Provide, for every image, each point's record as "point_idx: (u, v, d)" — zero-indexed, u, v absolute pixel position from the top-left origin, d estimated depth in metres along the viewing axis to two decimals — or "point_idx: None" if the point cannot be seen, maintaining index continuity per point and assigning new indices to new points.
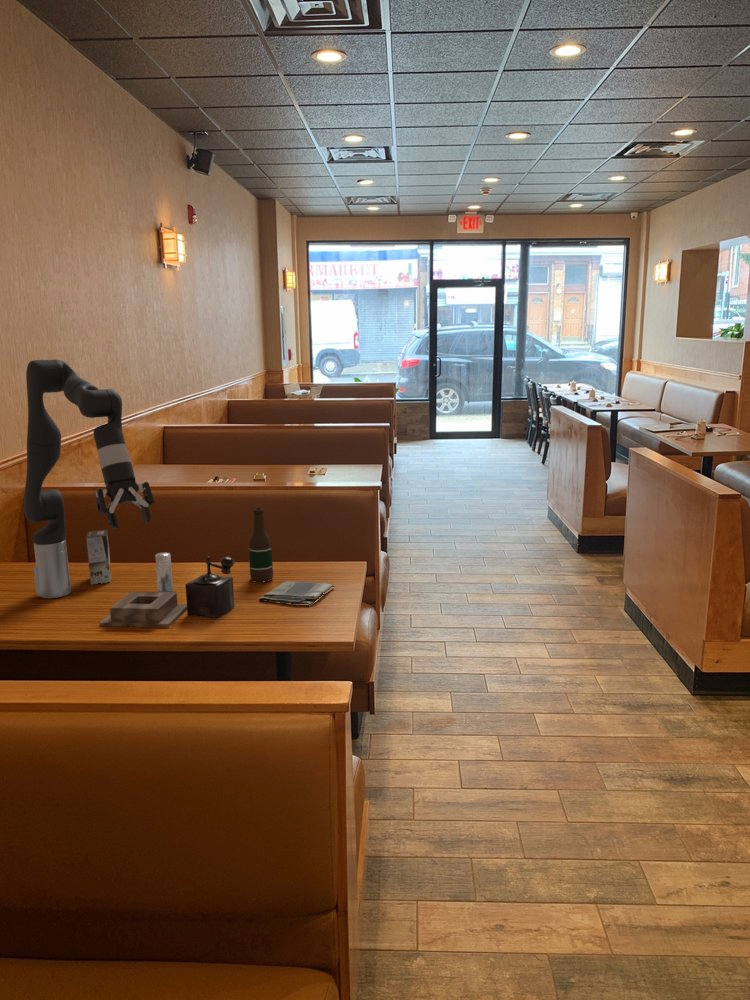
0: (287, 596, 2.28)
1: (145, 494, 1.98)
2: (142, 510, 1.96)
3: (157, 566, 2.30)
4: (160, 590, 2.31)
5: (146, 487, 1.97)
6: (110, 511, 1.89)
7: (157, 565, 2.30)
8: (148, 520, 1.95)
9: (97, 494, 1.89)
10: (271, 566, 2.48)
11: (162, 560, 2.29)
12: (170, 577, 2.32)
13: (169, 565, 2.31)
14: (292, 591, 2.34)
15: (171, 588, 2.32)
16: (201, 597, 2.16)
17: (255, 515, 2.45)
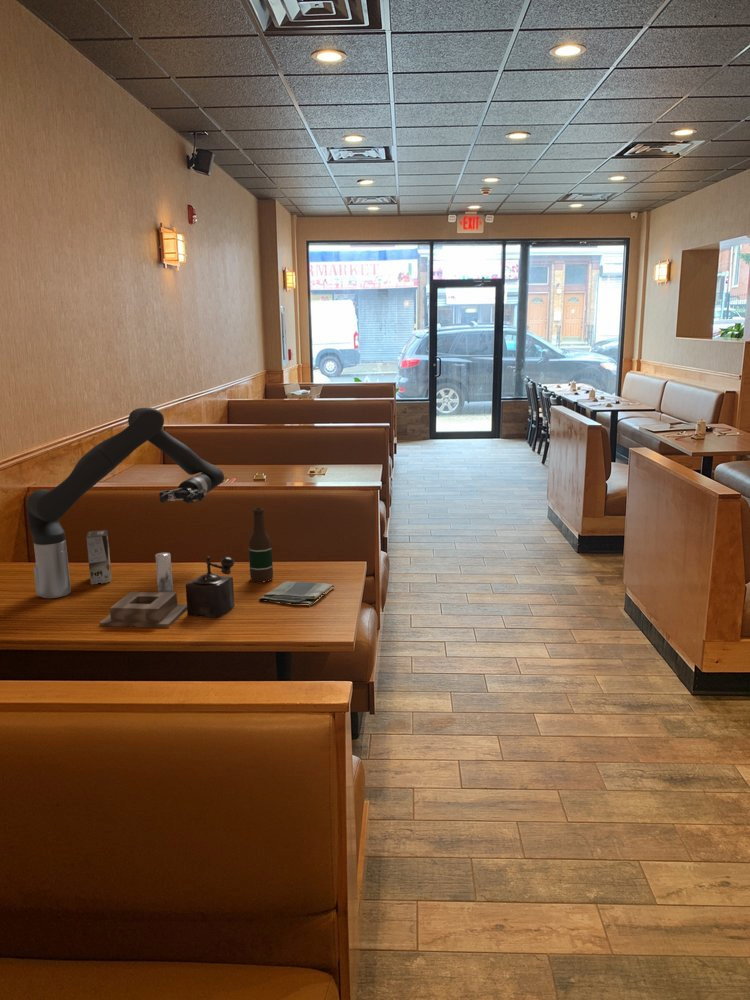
0: (287, 596, 2.28)
1: None
2: (166, 497, 2.44)
3: (157, 566, 2.30)
4: (160, 590, 2.31)
5: None
6: (195, 500, 2.44)
7: (157, 565, 2.30)
8: (162, 502, 2.41)
9: (205, 495, 2.48)
10: (271, 566, 2.48)
11: (162, 560, 2.29)
12: (170, 577, 2.32)
13: (169, 565, 2.31)
14: (292, 591, 2.34)
15: (171, 588, 2.32)
16: (201, 597, 2.16)
17: (255, 515, 2.45)
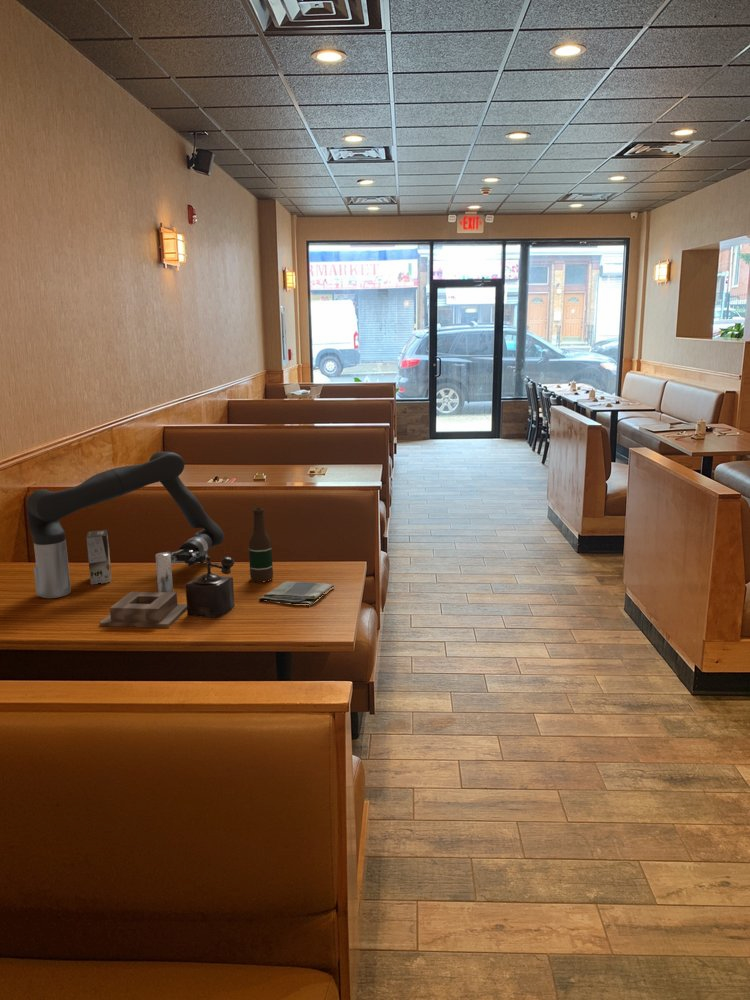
0: (287, 596, 2.28)
1: None
2: None
3: (157, 566, 2.30)
4: (160, 590, 2.31)
5: None
6: (196, 563, 2.46)
7: (157, 565, 2.30)
8: None
9: None
10: (271, 566, 2.48)
11: (163, 560, 2.29)
12: (170, 577, 2.32)
13: (169, 565, 2.31)
14: (292, 591, 2.34)
15: (171, 588, 2.32)
16: (201, 597, 2.16)
17: (255, 515, 2.45)
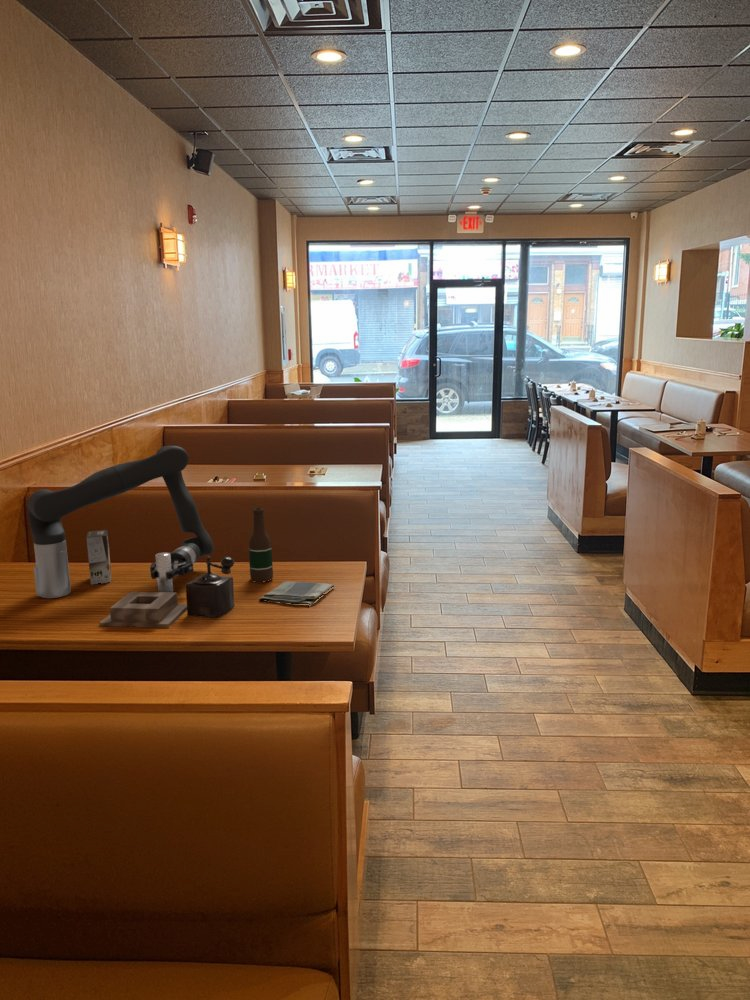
0: (287, 596, 2.28)
1: (155, 568, 2.37)
2: None
3: (157, 566, 2.30)
4: (160, 590, 2.31)
5: None
6: (176, 575, 2.33)
7: (157, 565, 2.30)
8: (153, 578, 2.30)
9: (191, 569, 2.37)
10: (271, 566, 2.48)
11: (162, 559, 2.29)
12: None
13: (169, 565, 2.31)
14: (293, 591, 2.34)
15: (171, 588, 2.32)
16: (201, 597, 2.16)
17: (255, 515, 2.45)
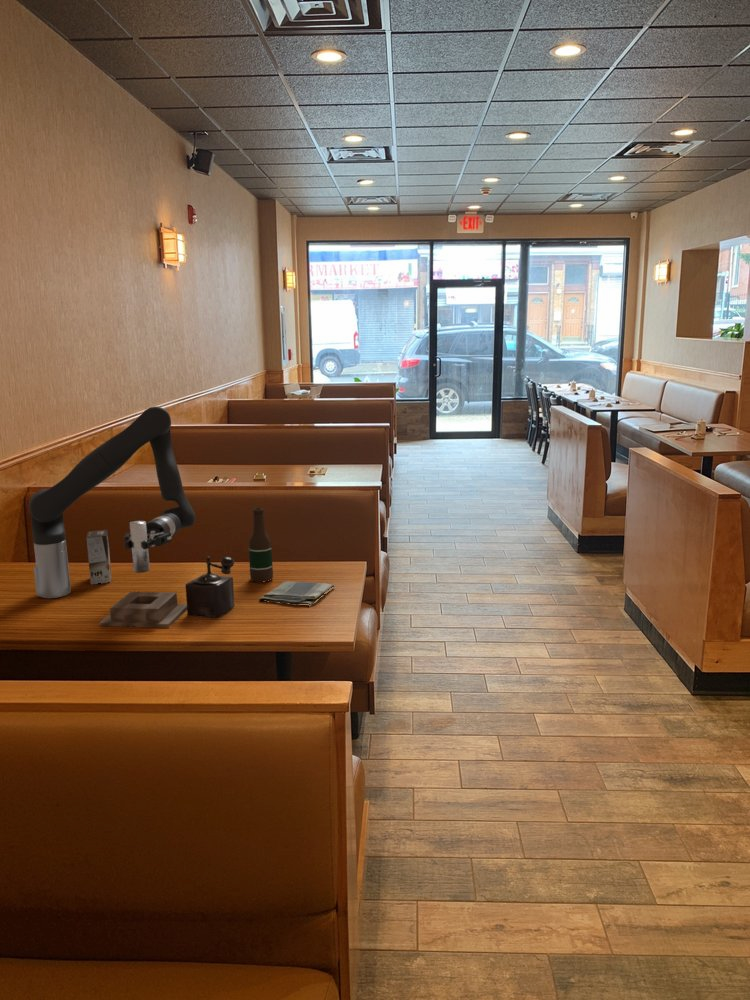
0: (287, 596, 2.28)
1: None
2: None
3: (131, 535, 2.12)
4: (135, 561, 2.13)
5: None
6: (152, 546, 2.15)
7: (131, 534, 2.12)
8: None
9: (169, 539, 2.19)
10: (271, 566, 2.48)
11: (137, 528, 2.11)
12: None
13: (144, 534, 2.12)
14: (293, 591, 2.34)
15: (147, 559, 2.14)
16: (201, 597, 2.16)
17: (255, 515, 2.45)
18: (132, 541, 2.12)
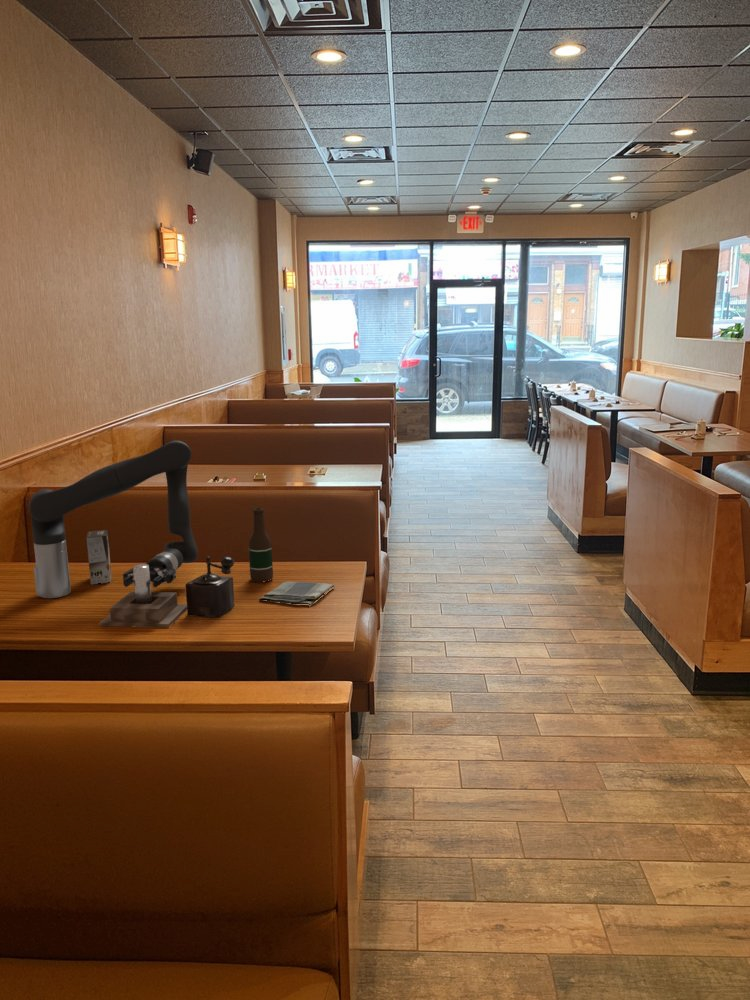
0: (287, 596, 2.28)
1: None
2: (131, 579, 2.18)
3: (135, 579, 2.14)
4: None
5: None
6: (163, 583, 2.18)
7: (135, 578, 2.14)
8: (126, 586, 2.15)
9: (174, 575, 2.22)
10: (271, 566, 2.48)
11: (140, 572, 2.13)
12: (149, 591, 2.16)
13: (148, 578, 2.15)
14: (293, 591, 2.34)
15: (150, 602, 2.17)
16: (201, 597, 2.16)
17: (255, 515, 2.45)
18: (135, 585, 2.14)
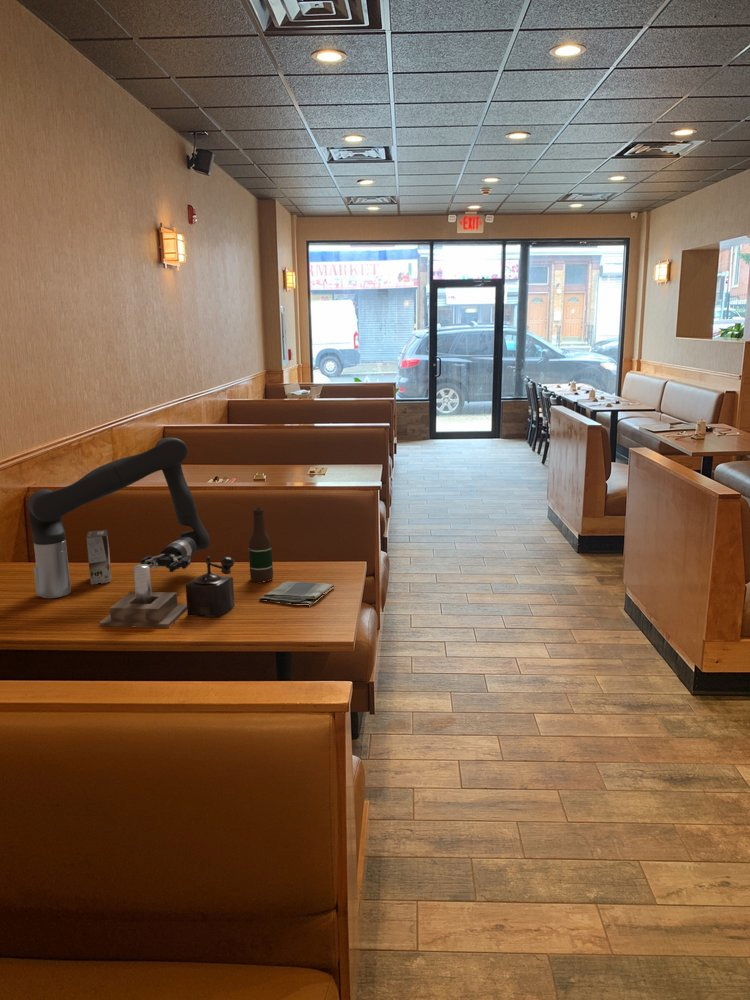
0: (287, 596, 2.28)
1: None
2: None
3: (135, 579, 2.14)
4: None
5: None
6: (178, 568, 2.31)
7: (135, 578, 2.14)
8: None
9: (189, 562, 2.35)
10: (271, 566, 2.48)
11: (141, 572, 2.13)
12: (149, 591, 2.16)
13: (148, 578, 2.15)
14: (293, 591, 2.34)
15: (150, 602, 2.17)
16: (201, 597, 2.16)
17: (255, 515, 2.45)
18: (136, 585, 2.15)
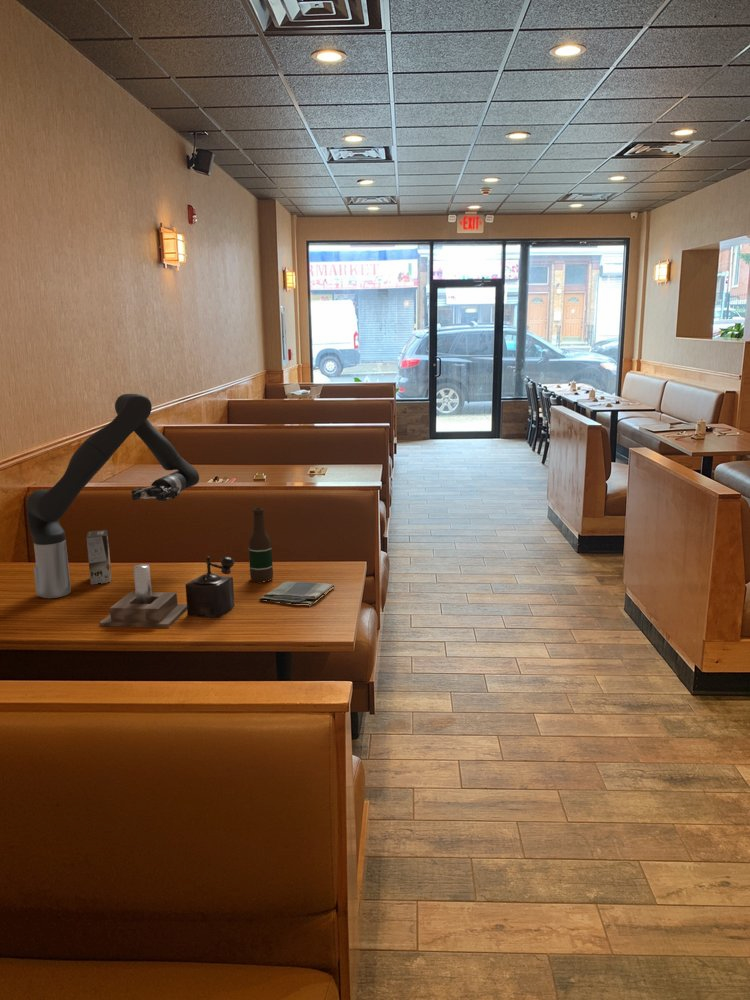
0: (287, 596, 2.28)
1: None
2: (139, 495, 2.40)
3: (135, 579, 2.14)
4: None
5: None
6: (168, 498, 2.40)
7: (135, 578, 2.14)
8: (134, 500, 2.37)
9: (178, 493, 2.45)
10: (271, 566, 2.48)
11: (141, 572, 2.13)
12: (149, 591, 2.16)
13: (148, 578, 2.15)
14: (293, 591, 2.34)
15: (150, 602, 2.17)
16: (201, 597, 2.16)
17: (255, 515, 2.45)
18: (136, 585, 2.15)
